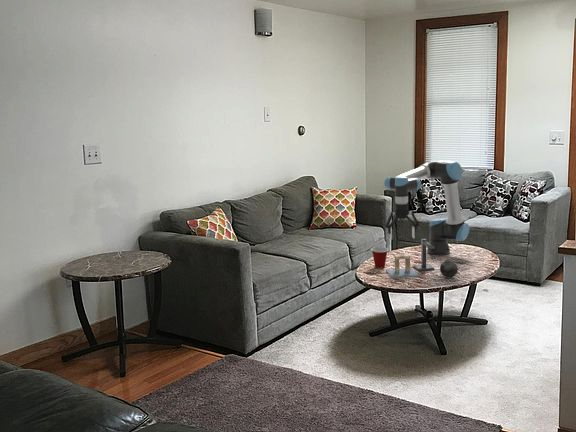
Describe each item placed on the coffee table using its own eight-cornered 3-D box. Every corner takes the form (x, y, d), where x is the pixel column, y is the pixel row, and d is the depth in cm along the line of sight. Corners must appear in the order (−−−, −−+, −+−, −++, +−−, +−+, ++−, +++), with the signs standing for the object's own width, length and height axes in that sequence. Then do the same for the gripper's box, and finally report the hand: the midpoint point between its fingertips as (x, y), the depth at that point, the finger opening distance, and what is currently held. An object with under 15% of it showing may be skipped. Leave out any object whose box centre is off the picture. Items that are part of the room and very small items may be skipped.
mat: (411, 269, 385) (411, 268, 385) (419, 276, 370) (419, 275, 369) (386, 271, 384) (385, 269, 384) (392, 278, 368) (392, 276, 368)
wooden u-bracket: (407, 271, 379) (407, 254, 378) (410, 273, 375) (410, 255, 373) (394, 271, 379) (394, 254, 377) (397, 273, 374) (396, 256, 372)
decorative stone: (437, 278, 365) (437, 261, 364) (444, 274, 373) (444, 257, 371) (453, 280, 359) (453, 263, 357) (460, 276, 367) (460, 259, 365)
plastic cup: (378, 270, 388) (377, 251, 385) (368, 266, 397) (367, 248, 395) (392, 267, 392) (392, 248, 390) (382, 264, 402) (381, 245, 400)
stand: (429, 266, 392) (429, 237, 389) (440, 275, 371) (441, 244, 368) (413, 267, 392) (413, 238, 388) (424, 276, 370) (424, 245, 367)
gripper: (382, 205, 365) (383, 241, 368) (424, 202, 367) (424, 238, 371) (379, 203, 372) (380, 238, 376) (420, 201, 374) (420, 235, 378)
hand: (402, 238), depth 373 cm, fingers open, 13 cm apart
